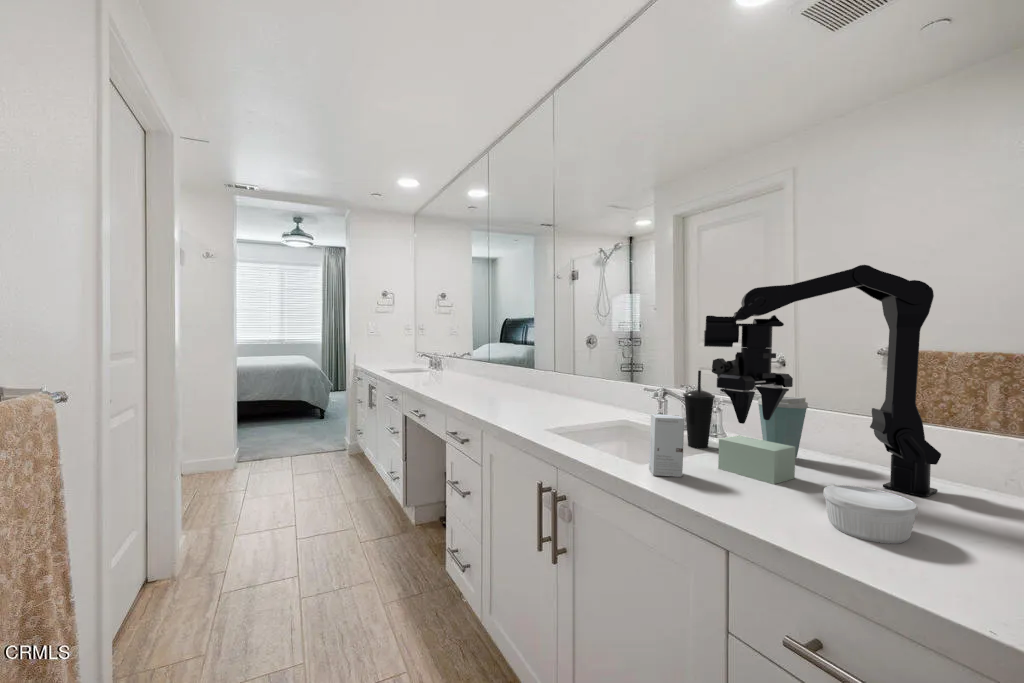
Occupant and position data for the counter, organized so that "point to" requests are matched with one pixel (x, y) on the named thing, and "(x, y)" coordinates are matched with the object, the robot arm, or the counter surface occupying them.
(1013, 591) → the counter surface
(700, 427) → the drinking cup
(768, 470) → the sage green rectangular block
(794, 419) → the disposable coffee cup
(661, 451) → the skincare box
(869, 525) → the ramekin
